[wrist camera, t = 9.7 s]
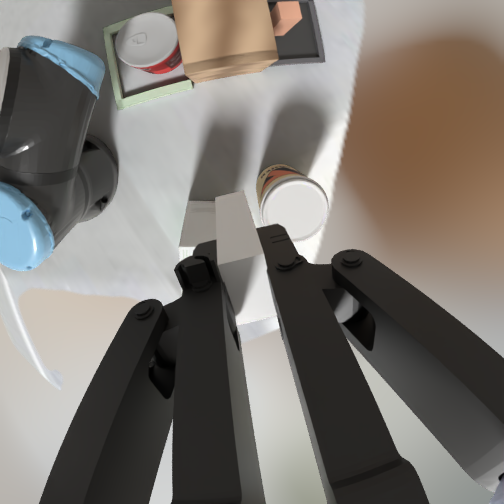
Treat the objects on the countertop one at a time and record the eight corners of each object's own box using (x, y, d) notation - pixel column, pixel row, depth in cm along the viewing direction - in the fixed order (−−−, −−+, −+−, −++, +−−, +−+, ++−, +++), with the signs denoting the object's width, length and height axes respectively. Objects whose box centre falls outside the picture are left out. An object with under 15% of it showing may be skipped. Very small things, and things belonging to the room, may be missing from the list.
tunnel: (195, 83, 38) (185, 74, 26) (181, 9, 31) (167, -24, 19) (260, 71, 38) (278, 59, 26) (246, -2, 32) (257, -38, 19)
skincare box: (187, 199, 47) (176, 242, 34) (227, 200, 48) (232, 243, 35) (188, 244, 51) (179, 299, 38) (225, 245, 52) (229, 299, 39)
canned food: (131, 43, 33) (107, 28, 24) (179, 23, 33) (168, 1, 23) (145, 82, 37) (124, 78, 27) (194, 63, 36) (186, 51, 27)
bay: (120, 109, 38) (117, 110, 37) (105, 29, 31) (102, 28, 30) (193, 88, 38) (192, 88, 37) (177, 6, 31) (176, 4, 30)
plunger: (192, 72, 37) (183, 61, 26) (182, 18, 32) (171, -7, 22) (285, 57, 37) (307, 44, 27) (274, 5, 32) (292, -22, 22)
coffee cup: (299, 153, 45) (324, 170, 35) (310, 204, 50) (334, 234, 40) (244, 167, 46) (252, 189, 35) (258, 218, 50) (270, 252, 40)
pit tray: (267, 66, 38) (268, 65, 37) (254, 1, 32) (255, -1, 31) (322, 62, 38) (325, 61, 37) (310, -1, 32) (312, -3, 31)
